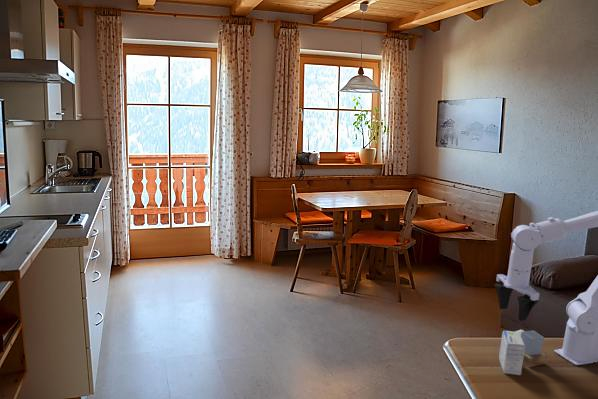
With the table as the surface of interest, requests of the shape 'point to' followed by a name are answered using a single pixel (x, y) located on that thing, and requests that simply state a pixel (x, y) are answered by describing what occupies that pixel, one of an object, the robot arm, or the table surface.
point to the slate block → (532, 342)
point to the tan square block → (534, 359)
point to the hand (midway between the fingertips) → (512, 314)
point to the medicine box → (511, 352)
